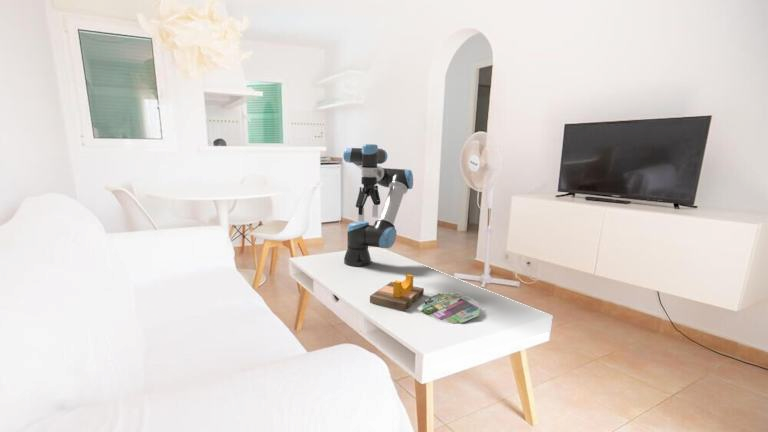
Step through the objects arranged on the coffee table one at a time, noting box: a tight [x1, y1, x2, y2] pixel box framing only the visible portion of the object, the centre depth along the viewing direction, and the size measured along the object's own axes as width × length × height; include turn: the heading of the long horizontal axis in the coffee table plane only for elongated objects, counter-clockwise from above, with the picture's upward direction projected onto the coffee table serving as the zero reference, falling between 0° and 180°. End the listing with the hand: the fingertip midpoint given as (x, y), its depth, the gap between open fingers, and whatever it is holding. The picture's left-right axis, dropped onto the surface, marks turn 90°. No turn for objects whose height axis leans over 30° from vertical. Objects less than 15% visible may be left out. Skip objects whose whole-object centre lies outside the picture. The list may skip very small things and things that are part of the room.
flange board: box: [369, 281, 425, 312], centre depth 160 cm, size 20×16×3 cm
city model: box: [420, 292, 481, 325], centre depth 149 cm, size 25×23×6 cm
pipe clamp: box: [393, 274, 414, 298], centre depth 158 cm, size 12×4×6 cm, turn 146°
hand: (368, 219), depth 185 cm, fingers open, 13 cm apart
